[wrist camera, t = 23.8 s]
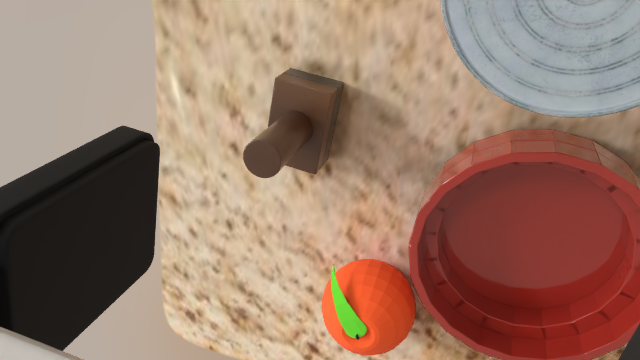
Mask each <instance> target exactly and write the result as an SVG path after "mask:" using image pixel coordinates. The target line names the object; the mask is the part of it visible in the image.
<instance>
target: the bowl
mask: <svg viewBox="0 0 640 360" xmlns="http://www.w3.org/2000/svg"><path fill="white" fill-rule="evenodd" d="M408 248H409V263H410V276H411V279H412V281H413V284H414V286H415V288H416V290H417V293H418V295H419V297H420V299H421V302H422V304H423V306H424V307H425V308H426V309H427V310H428V312H429V313H430V314H431V315H432V316H433V317H434V318H435V320H436V321H437V322H438V323H439V324H440V325H441V326H442V328H443V329H444V330H445V331H446V332H448V333H449V334H451V335H452V336H454V337H455V338H457V339H458V340H460V341H461V342H463V343H464V344H466V345H468V346H469V347H471V348H472V349H474V350H476V351H478V352H481V353H484V354H486V355H489V356H492V357H495V358H498V359H501V360H592V359H594V358H596V357H599V356H601V355H604V354H606V353H609V352H611V351H613V350H616V349H618V348H621V347H622V346H624V345H625V344H626V343H628V342H629V341H630V339H631V337H632V336H633V334H634V332H635V331H636V329H637V327H638V325H639V324H640V179H639V178H638V177H637V176H636V174H635V173H634V172H633V170H632V169H631V168H630V167H629V165H628V164H627V163H626V162H625V161H624V160H623V159H621V158H619V157H618V156H616V155H615V154H613V153H612V152H610V151H608V150H607V149H605V148H604V147H602V146H601V145H599V144H597V143H596V142H594V141H593V140H592V141H591V140H590V139H586V138H582V137H579V136H575V135H571V134H567V133H564V132H560V131H556V130H513V131H508V132H505V133H501V134H498V135H495V136H492V137H489V138H485V139H482V140H479V141H476V142H475V143H473V144H471V145H470V146H468V147H467V148H465V149H464V150H462V151H461V152H460V153H458V154H457V155H455V156H454V157H452V158H451V159H449V160H448V161H447V162H445V163H444V165H443V166H442V167H441V169H440V170H439V171H438V173H437V174H436V175H435V177H434V178H433V179H432V181H431V182H430V183H429V185H428V186H427V187H426V189H425V193H424V196H423V199H422V202H421V205H420V208H419V211H418V215H417V218H416V221H415V224H414V228H413V231H412V234H411V237H410V241H409V245H408Z"/></svg>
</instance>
